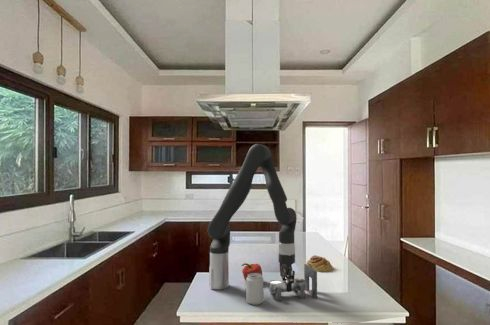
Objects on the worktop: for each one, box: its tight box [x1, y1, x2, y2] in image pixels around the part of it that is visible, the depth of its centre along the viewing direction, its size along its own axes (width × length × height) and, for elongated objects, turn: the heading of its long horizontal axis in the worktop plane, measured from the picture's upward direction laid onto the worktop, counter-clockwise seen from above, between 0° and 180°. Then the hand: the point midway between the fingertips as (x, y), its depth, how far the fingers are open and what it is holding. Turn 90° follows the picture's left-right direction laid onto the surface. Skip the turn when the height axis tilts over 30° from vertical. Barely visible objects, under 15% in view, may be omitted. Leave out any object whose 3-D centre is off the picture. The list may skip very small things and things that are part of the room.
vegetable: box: [241, 262, 263, 282], centre depth 179 cm, size 11×10×10 cm
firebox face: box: [303, 263, 318, 300], centre depth 163 cm, size 1×12×12 cm, turn 13°
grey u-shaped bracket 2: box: [292, 278, 306, 300], centre depth 162 cm, size 2×10×6 cm, turn 13°
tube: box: [268, 277, 306, 294], centre depth 160 cm, size 16×5×5 cm, turn 103°
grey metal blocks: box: [269, 279, 282, 302], centre depth 159 cm, size 2×10×6 cm, turn 13°
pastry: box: [305, 254, 334, 273], centre depth 202 cm, size 13×15×8 cm
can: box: [245, 273, 264, 306], centre depth 154 cm, size 8×8×12 cm
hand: (286, 289), depth 160 cm, fingers closed on tube, 5 cm apart
